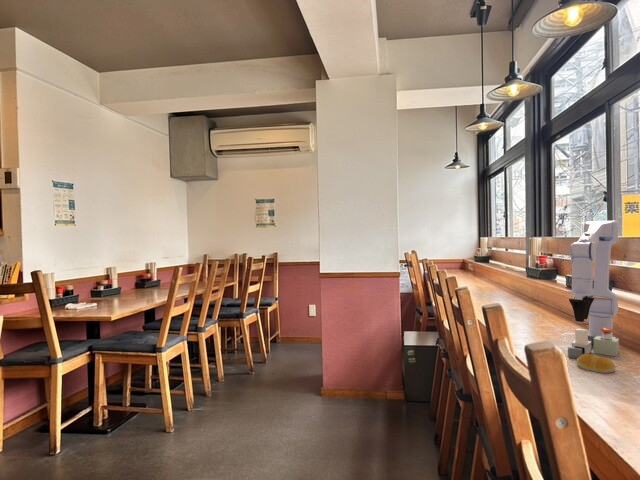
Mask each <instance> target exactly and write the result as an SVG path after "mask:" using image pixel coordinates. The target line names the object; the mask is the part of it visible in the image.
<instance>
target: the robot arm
mask: <svg viewBox="0 0 640 480" xmlns="http://www.w3.org/2000/svg"><path fill="white" fill-rule="evenodd" d="M618 240H619V225H618V221H617V220H614V219H613V220H591V221H590V220H586V221H585V222H584V224H583V233H582V234H581V235H580V236H579V238H578V239H577V241H574V242H573V243H571V244H570V245H569V256H570V257H569V258H570V265H571V290H567V294H570V295H573V296H574V297H573V298H569V299H568V301H569V303H570V305H571V308H572V310H573V316H574V319H575V322H579V323H584V322H585V320H588V336H595V337H596V336H602V331H600V328H610V329H613V328H614V327H613V323H614V322H613V317H616V316H617V315H618V313H619V302H618V299H619V298H618V296H617V294H616V293H614V292H613V291H612V290H610V269H611V267H610V265H611V263H610V261H611V251H612V250H611V249H612V246H613V245H615V244H617V243H618ZM593 265H594V266H593ZM593 268H594V269H593ZM593 275H594V276H593ZM613 332H614V331H613ZM613 332H611V338H616V339H617V337H615V336H613Z"/></svg>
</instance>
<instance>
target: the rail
mask: <svg viewBox="0 0 640 480" xmlns="http://www.w3.org/2000/svg"><path fill="white" fill-rule="evenodd" d="M594 338H595V336H589V335H588V341H591V347H594ZM583 354H585V348H584V347H578V346H577V347H576V348H572V346H571V347H570V346H568V348H567V358H571V359H576V360H577V359H578V358H579V357H580V356H581V355H583Z"/></svg>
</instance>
